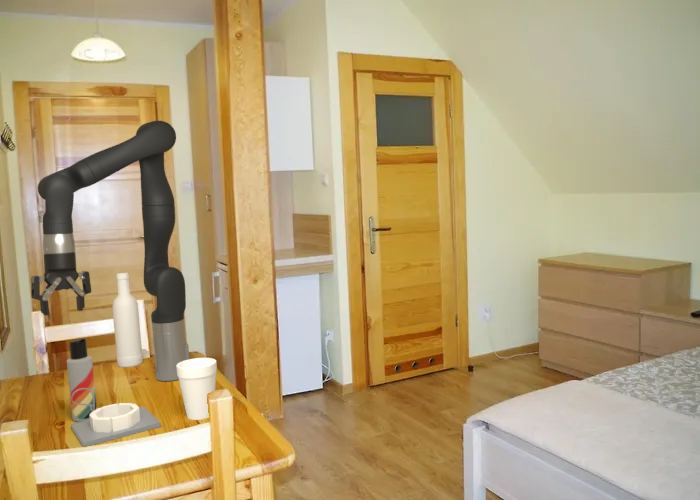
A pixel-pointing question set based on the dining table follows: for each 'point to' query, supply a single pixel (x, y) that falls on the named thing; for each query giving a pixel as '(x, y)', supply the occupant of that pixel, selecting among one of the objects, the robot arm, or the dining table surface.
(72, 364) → the lotion bottle
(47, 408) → the dining table surface
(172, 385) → the dining table surface
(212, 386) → the foam cup
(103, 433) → the socket
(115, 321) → the bottle
